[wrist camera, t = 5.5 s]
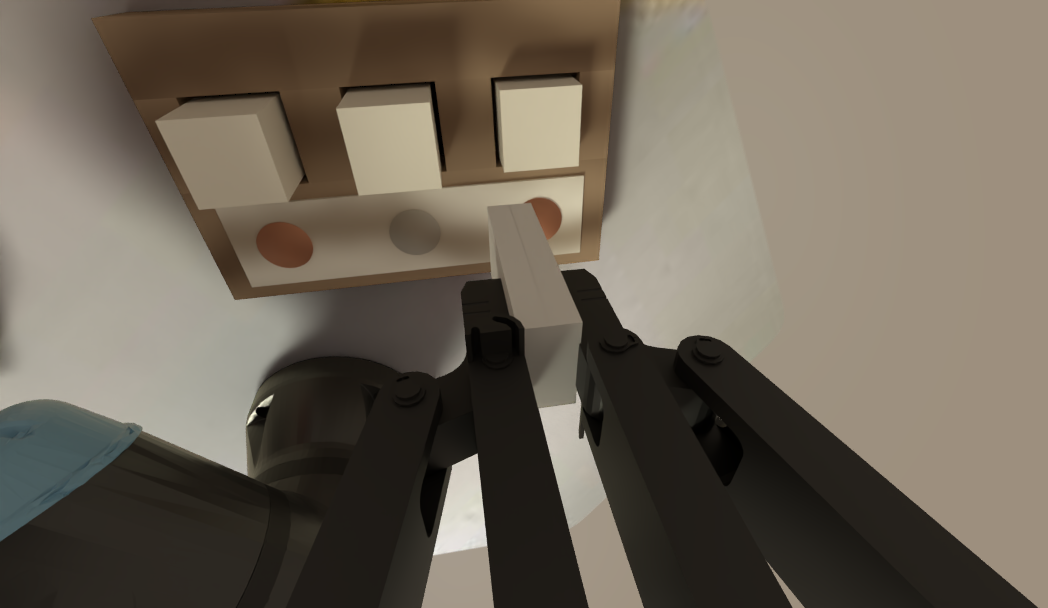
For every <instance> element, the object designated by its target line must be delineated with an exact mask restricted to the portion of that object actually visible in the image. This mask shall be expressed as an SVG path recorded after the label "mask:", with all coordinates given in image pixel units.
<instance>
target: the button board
mask: <svg viewBox="0 0 1048 608" xmlns="http://www.w3.org/2000/svg"><path fill="white" fill-rule="evenodd" d="M620 1H621V0H394V1H371V2H348V3H325V4H303V5H280V6H257V7H234V8H211V9H188V10H166V11H143V12H124V13H119V14H113V15H108V16H102V17H96V18H91V19H92V21H93V23H94V25H95V27H96V29H97V31H98V33H99V35H100V37H101V39H102V41H103V43H104V45H105V47H106V49H107V51H108V53H109V54H110V56H111V58H112V60H113V62H114V64H115V66H116V68H117V70H118V72H119V74H120V76H121V78H122V80H123V82H124V84H125V86H126V88H127V90H128V92H129V94H130V96H131V98H132V99H133V101H134V103H135V105H136V107H137V109H138V111H139V113H140V115H141V117H142V119H143V121H144V123H145V125H146V127H147V129H148V131H149V133H150V135H151V137H152V139H153V141H154V143H155V145H156V146H157V148H158V150H159V152H160V154H161V156H162V158H163V160H164V162H165V164H166V166H167V168H168V170H169V172H170V174H171V176H172V178H173V180H174V182H175V184H176V186H177V188H178V190H179V192H180V193H181V195H182V197H183V199H184V201H185V203H186V205H187V207H188V209H189V211H190V213H191V215H192V217H193V219H194V221H195V223H196V225H197V227H198V229H199V231H200V233H201V235H202V237H203V239H204V240H205V242H206V244H207V246H208V248H209V250H210V252H211V254H212V256H213V258H214V260H215V262H216V264H217V266H218V268H219V270H220V272H221V274H222V276H223V278H224V280H225V282H226V284H227V285H228V287H229V289H230V291H231V293H232V295H233V297H234V299H235V300H239V299H248V298H257V297H267V296H276V295H285V294H294V293H303V292H312V291H321V290H331V289H340V288H349V287H358V286H367V285H376V284H385V283H395V282H404V281H413V280H422V279H431V278H440V277H449V276H458V275H468V274H477V273H486V272H491V263H490V246H489V230H488V213H487V206H498V205H510V204H523V203H531V204H532V207H533V209H534V211H535V213H536V216H537V218H538V220H539V223H540V225H541V227H542V230H543V232H544V234H545V237H546V239H547V241H548V243H549V246H550V248H551V250H552V253H553V255H554V257H555V260H556V262H557V264H558V265H559V264H568V263H577V262H586V261H595V260H599V251H600V239H601V227H602V215H603V203H604V191H605V179H606V167H607V156H608V144H609V132H610V120H611V108H612V96H613V84H614V72H615V60H616V48H617V36H618V24H619V12H620ZM557 73H569V74H570V75H571V76H572V77H574V78H575V79H576V80H577V81H578V82H579V83H581V84H582V103H581V125H580V146H579V166H575V167H563V168H552V169H540V170H529V171H517V172H505V173H504V170H503V167H502V164H501V161H500V158H499V155H498V152H497V151H495V141H494V126H493V110H492V95H491V80H490V78H494V77H510V76H525V75H541V74H557ZM430 81H435V87H436V94H437V102H438V109H439V117H440V125H441V132H442V140H443V147H444V155H440V158H441V178H442V188H441V189H429V190H418V191H407V192H395V193H384V194H373V195H361V196H359V195H358V191H357V187H356V183H355V179H354V176H353V172H352V168H351V164H350V160H349V156H348V153H347V149H346V145H345V141H344V137H343V133H342V130H341V126H340V122H339V118H338V114H337V111H336V108H337V106H338V105H339V103H340V102H341V100H342V99H343V97H344V95H345V94H346V92H347V91H348V89H349V88H350V87H351V86H367V85H383V84H399V83H415V82H430ZM272 91H279V93H280V96H281V99H282V102H283V105H284V108H285V111H286V114H287V117H288V120H289V124H290V127H291V130H292V133H293V136H294V139H295V142H296V145H297V148H298V151H299V154H300V157H301V160H302V163H303V166H304V170H305V174H304V176H303V178H302V180H301V181H300V183H299V185H298V186H297V188H296V190H295V191H294V193H293V195H292V197H291V198H290V200H289V202H282V203H271V204H260V205H248V206H237V207H226V208H215V209H203V210H199V209H198V207H197V205H196V203H195V201H194V199H193V197H192V195H191V193H190V191H189V189H188V187H187V185H186V183H185V181H184V179H183V177H182V175H181V173H180V171H179V169H178V167H177V165H176V163H175V161H174V159H173V157H172V155H171V153H170V151H169V149H168V147H167V145H166V143H165V141H164V139H163V136H162V134H161V132H160V130H159V128H158V126H157V124H156V122H155V121H156V120H158V119H159V118H161V117H163V116H164V115H166V114H168V113H169V112H171V111H173V110H175V109H176V108H178V107H180V106H181V105H183V104H185V103H186V102H188V101H190V100H192V99H193V98H199V97H204V96H209V95H225V94H241V93H256V92H272Z"/></svg>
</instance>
